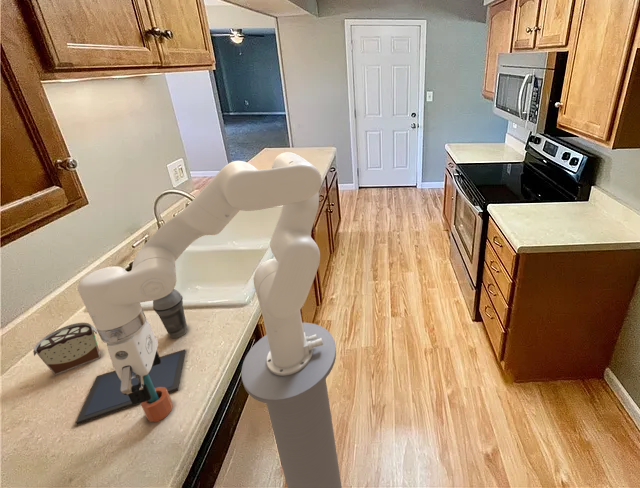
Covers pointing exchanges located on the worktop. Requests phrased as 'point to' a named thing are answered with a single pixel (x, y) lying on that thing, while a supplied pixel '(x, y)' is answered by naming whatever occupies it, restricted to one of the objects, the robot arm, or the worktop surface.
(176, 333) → the beverage cup
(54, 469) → the worktop surface
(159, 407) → the holder
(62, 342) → the food container
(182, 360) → the tablet
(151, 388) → the stylus
